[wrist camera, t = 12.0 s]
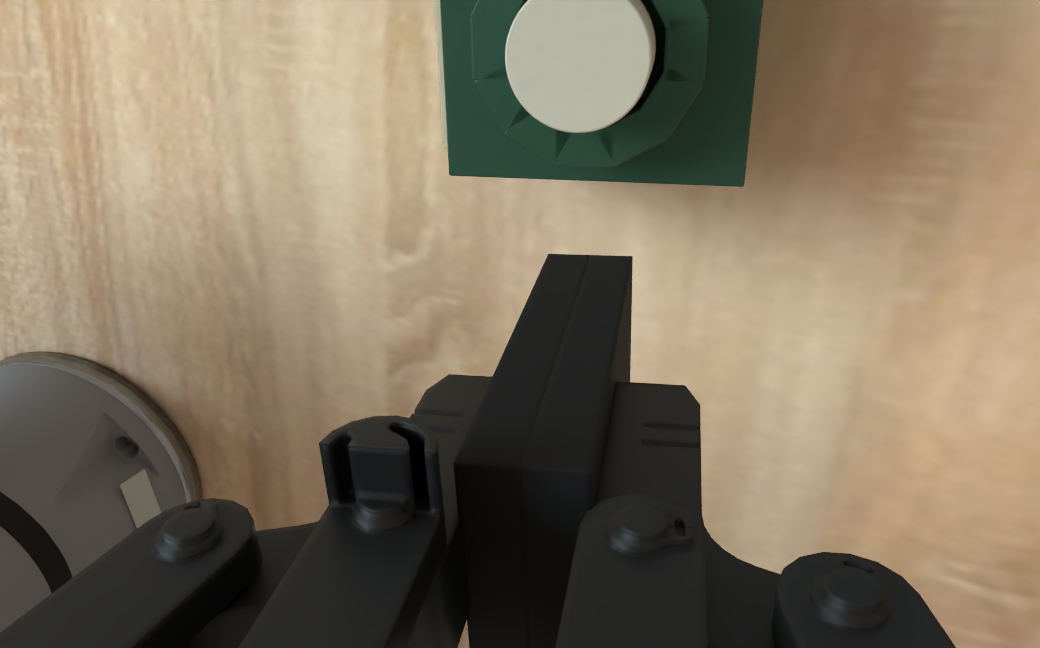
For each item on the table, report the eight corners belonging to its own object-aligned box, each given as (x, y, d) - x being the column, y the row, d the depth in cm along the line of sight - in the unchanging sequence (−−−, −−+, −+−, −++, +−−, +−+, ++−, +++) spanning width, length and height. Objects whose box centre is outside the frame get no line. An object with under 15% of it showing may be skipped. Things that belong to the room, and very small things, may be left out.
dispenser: (498, 128, 35) (430, 193, 27) (491, -106, 32) (410, -121, 23) (735, 135, 34) (747, 207, 25) (759, -113, 30) (783, -133, 21)
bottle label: (479, 118, 33) (442, 148, 28) (471, -81, 30) (430, -83, 25) (483, 118, 33) (448, 148, 28) (477, -81, 30) (436, -83, 25)
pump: (522, 115, 25) (505, 131, 23) (520, -25, 24) (502, -21, 22) (652, 118, 25) (647, 135, 23) (660, -26, 23) (655, -22, 21)
